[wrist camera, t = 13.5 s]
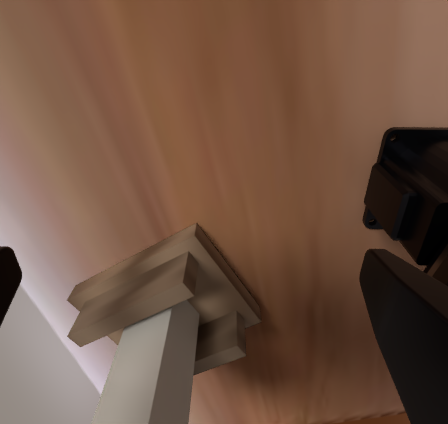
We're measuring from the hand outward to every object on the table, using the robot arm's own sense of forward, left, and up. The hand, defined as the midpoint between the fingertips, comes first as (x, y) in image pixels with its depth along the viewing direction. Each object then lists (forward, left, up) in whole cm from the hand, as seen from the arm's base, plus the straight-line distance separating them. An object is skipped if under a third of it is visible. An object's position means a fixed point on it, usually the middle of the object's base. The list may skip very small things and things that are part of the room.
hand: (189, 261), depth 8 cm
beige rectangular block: (+3, +13, -10) cm, 17 cm away
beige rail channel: (+3, +13, -12) cm, 18 cm away
